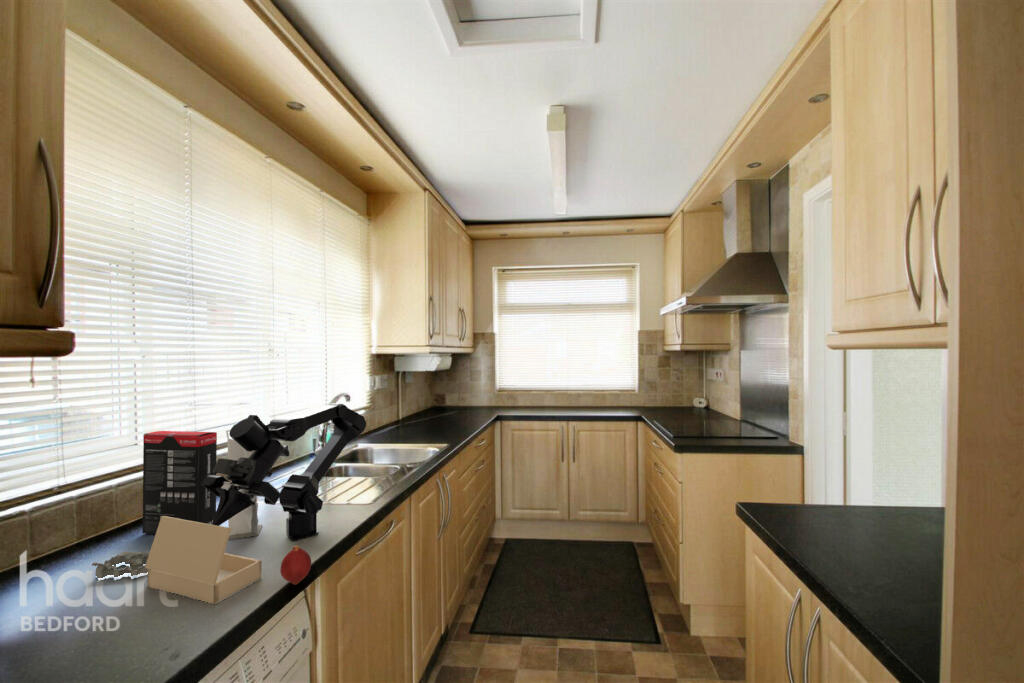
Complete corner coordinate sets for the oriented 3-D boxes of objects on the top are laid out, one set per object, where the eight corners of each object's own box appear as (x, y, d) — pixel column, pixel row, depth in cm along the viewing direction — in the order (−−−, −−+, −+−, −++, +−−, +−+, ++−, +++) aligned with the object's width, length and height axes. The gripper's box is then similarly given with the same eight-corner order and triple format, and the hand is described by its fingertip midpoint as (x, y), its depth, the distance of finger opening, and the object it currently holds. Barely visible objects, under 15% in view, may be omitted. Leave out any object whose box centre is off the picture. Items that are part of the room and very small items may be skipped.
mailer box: (196, 564, 100) (196, 547, 100) (261, 579, 93) (261, 560, 93) (147, 586, 90) (147, 567, 90) (215, 605, 83) (215, 584, 83)
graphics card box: (218, 527, 121) (219, 429, 121) (198, 538, 114) (199, 434, 114) (162, 525, 122) (163, 429, 123) (139, 536, 115) (140, 433, 116)
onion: (282, 579, 93) (282, 541, 93) (312, 574, 95) (312, 537, 95) (278, 593, 87) (278, 553, 87) (309, 587, 89) (310, 548, 89)
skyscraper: (220, 541, 112) (221, 432, 113) (228, 529, 119) (228, 427, 120) (258, 535, 115) (258, 430, 116) (262, 524, 123) (263, 425, 123)
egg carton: (87, 583, 92) (88, 563, 92) (118, 565, 100) (118, 548, 100) (139, 581, 93) (139, 562, 93) (166, 564, 100) (166, 546, 100)
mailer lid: (164, 516, 93) (161, 516, 93) (231, 528, 87) (228, 528, 86) (147, 567, 90) (144, 567, 90) (215, 584, 83) (212, 584, 83)
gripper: (210, 440, 102) (157, 502, 92) (269, 445, 96) (220, 513, 85) (240, 466, 109) (194, 526, 99) (297, 472, 103) (255, 537, 92)
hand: (214, 525), depth 94 cm, fingers closed
